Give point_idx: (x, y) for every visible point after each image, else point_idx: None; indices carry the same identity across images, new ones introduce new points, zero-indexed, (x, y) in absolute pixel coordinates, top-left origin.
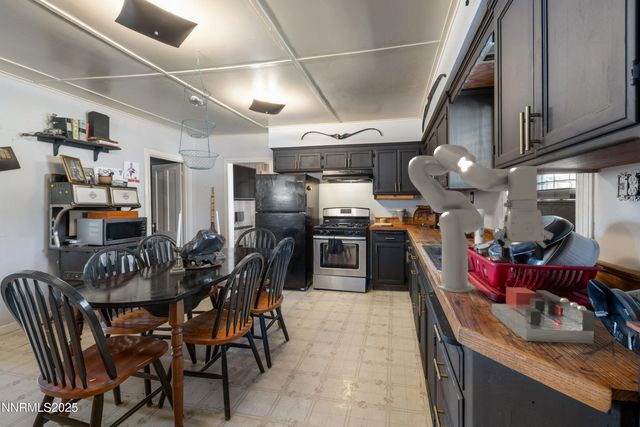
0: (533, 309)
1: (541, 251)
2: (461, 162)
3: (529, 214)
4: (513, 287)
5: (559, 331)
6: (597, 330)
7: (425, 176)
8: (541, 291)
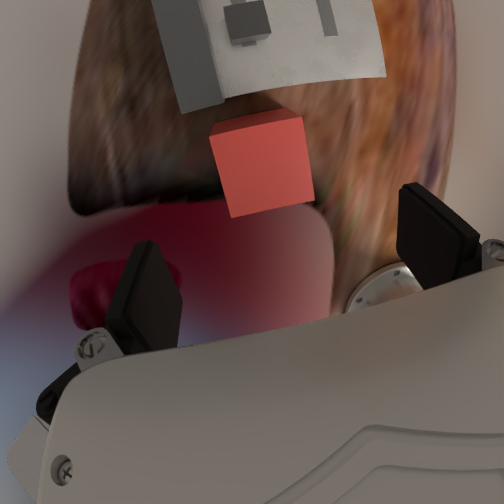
0: None
1: (129, 291)
2: None
3: None
4: (283, 205)
5: None
6: (90, 36)
7: None
8: (204, 86)
